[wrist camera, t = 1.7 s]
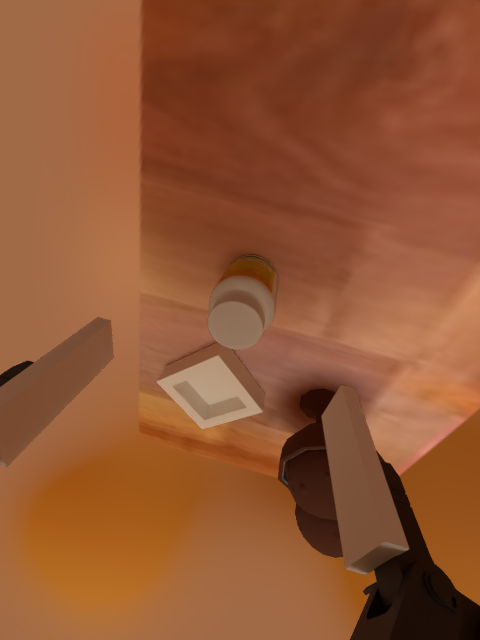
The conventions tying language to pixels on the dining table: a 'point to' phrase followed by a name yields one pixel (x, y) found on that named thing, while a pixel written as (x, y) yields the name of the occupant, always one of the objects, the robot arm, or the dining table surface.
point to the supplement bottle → (243, 302)
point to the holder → (213, 386)
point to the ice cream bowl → (312, 477)
